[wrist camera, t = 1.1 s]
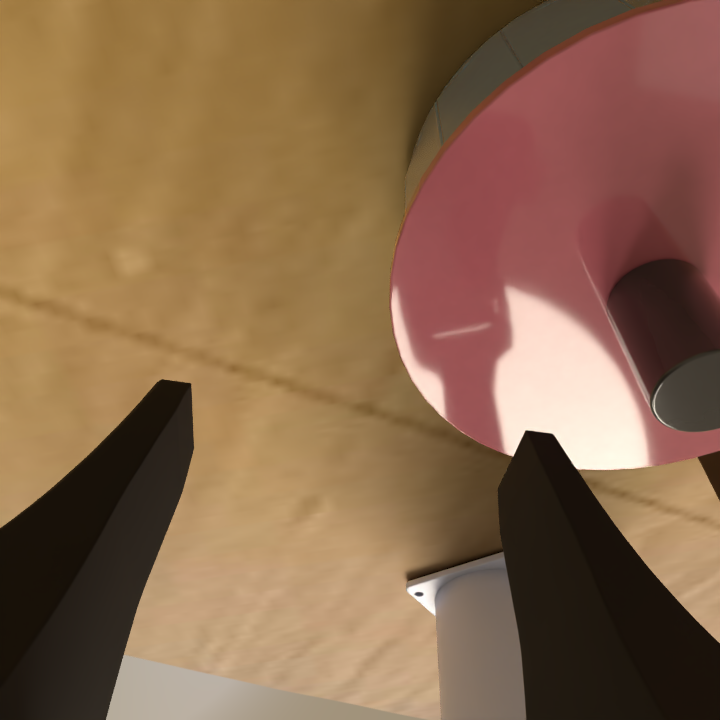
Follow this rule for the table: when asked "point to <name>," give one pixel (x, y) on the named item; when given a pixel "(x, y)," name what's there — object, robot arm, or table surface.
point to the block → (712, 469)
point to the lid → (577, 249)
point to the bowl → (504, 68)
